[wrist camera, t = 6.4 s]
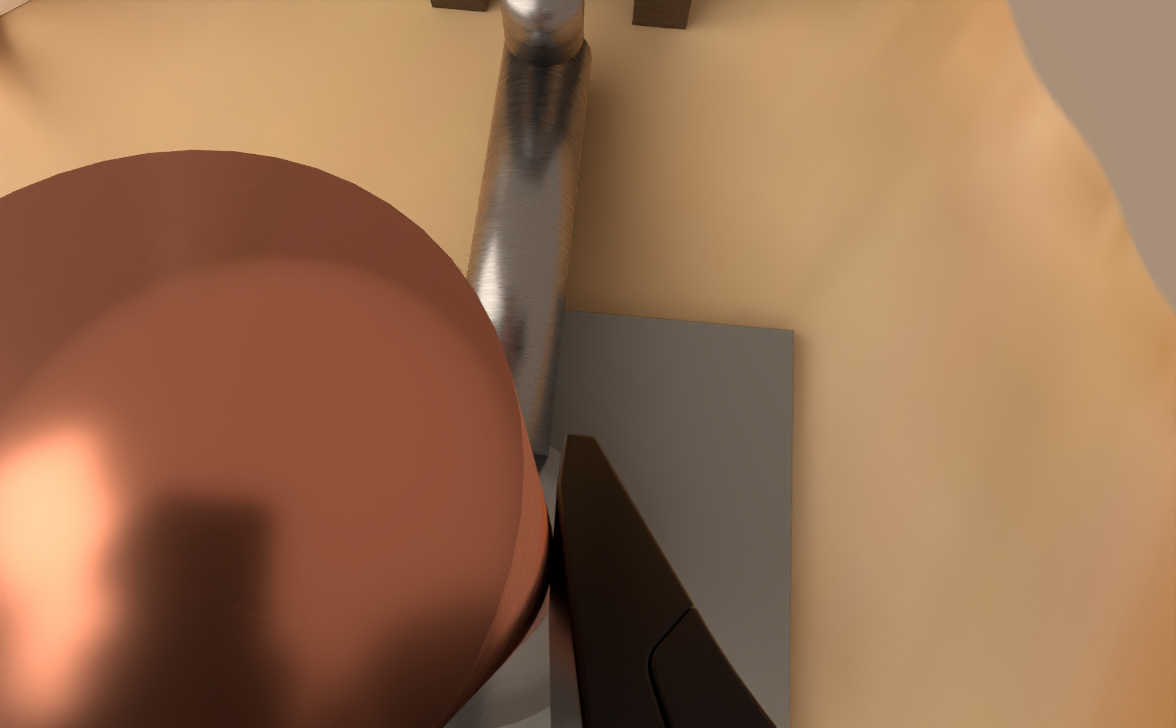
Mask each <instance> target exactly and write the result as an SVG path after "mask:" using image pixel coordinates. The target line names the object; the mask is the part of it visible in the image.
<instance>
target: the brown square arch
mask: <svg viewBox="0 0 1176 728" xmlns="http://www.w3.org/2000/svg"><path fill="white" fill-rule="evenodd" d="M691 1H692V0H634V9H633V20H632V24H635V25H646V26H658V27H669V28H681V29H686V25H687V20H688V15H689V11H690V6H691ZM431 4H432V7H440V8H451V9H463V10H474V11H486V5H487V0H431Z"/></svg>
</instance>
